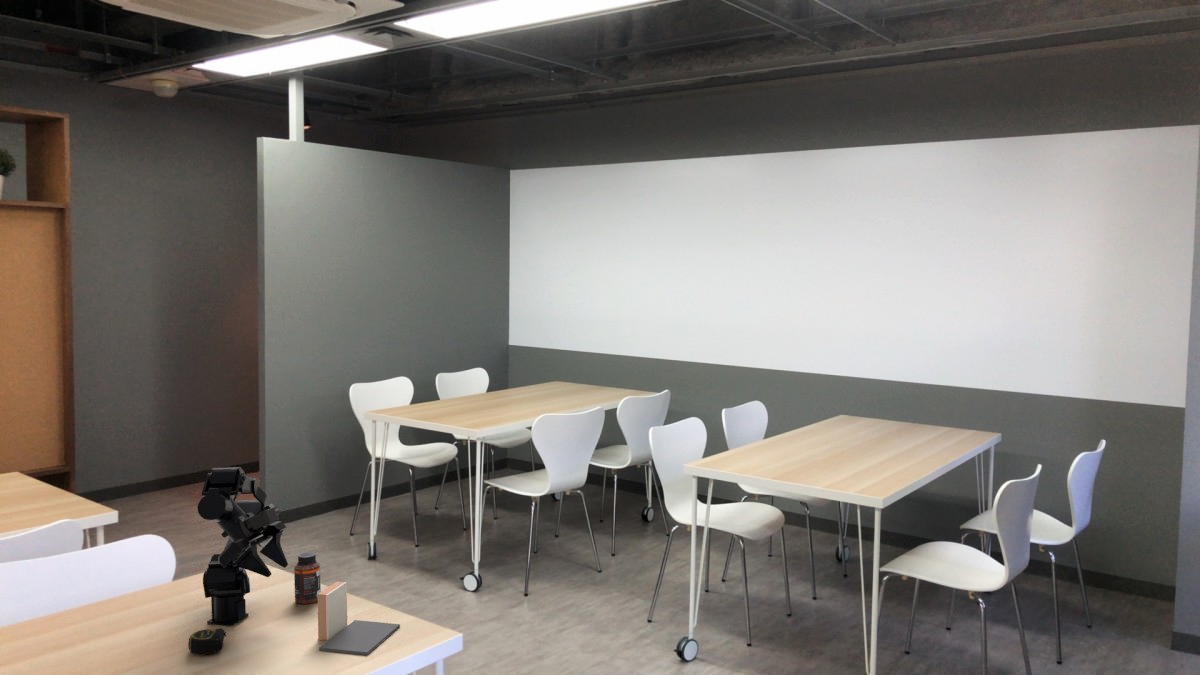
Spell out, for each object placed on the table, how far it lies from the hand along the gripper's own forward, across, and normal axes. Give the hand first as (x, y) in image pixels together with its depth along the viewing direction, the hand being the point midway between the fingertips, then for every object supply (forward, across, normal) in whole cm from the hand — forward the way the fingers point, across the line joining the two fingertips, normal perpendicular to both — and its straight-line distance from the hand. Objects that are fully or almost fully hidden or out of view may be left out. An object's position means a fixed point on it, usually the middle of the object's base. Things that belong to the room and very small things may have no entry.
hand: (278, 570), depth 189 cm
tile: (+18, -1, -1) cm, 19 cm away
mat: (+24, -3, -6) cm, 25 cm away
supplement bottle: (+8, +16, +10) cm, 20 cm away
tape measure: (+4, -14, +15) cm, 20 cm away
